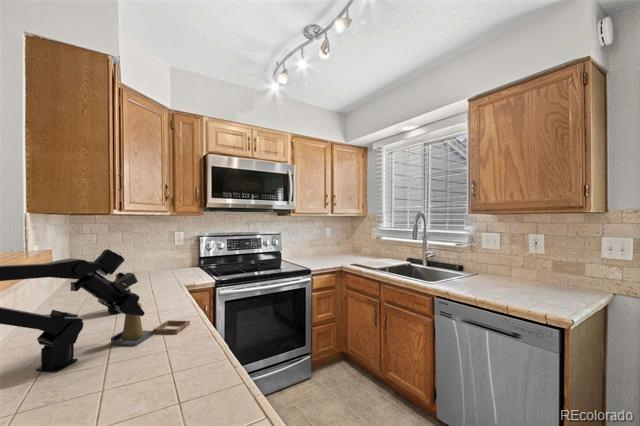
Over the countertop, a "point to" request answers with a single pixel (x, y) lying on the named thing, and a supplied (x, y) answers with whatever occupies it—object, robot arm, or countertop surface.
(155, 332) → the socket collar
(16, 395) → the countertop surface
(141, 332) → the cork
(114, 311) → the mug
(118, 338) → the gray hardcover book
